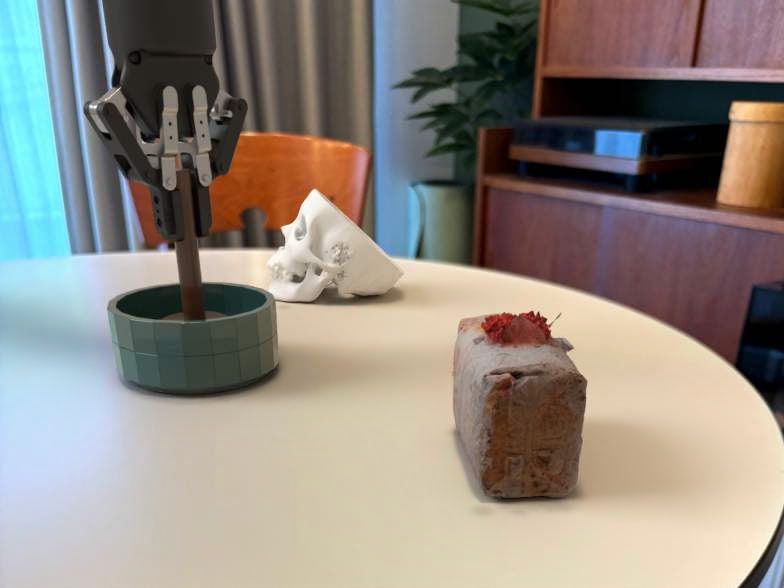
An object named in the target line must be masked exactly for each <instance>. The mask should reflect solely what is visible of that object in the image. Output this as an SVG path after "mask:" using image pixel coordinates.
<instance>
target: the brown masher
mask: <svg viewBox="0 0 784 588" xmlns="http://www.w3.org/2000/svg"><path fill="white" fill-rule="evenodd" d="M176 181H177V184H176V187H175V188H174V190H178V191H180V200H181V208H182V217H183V226H184V235H185V238H184V240H183V241H179V242H174V249H175V258H176V266H177V275H178V283H180V291H181V300H182V308H183V312H181V313H176V314H172V315H169V316H166V317H164V318H163V319H162V320H175V321H188V320H207V319H214V318H221V317H228V316H227V315H225V314H222V313H218V312H212V311H205V304H204V295H203V286H202V282H203V278H202V270H201V269H202V268H201V259H200V249H199V240H198V239H199V238H197V230H196V221H195V212H194V202H193V193H192V184H191V174H190V169H187V168H179V167H176Z"/></svg>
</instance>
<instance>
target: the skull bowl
mask: <svg viewBox="0 0 784 588" xmlns="http://www.w3.org/2000/svg"><path fill="white" fill-rule="evenodd" d="M280 229H281V233H282V235H283V236H284V239H285V240H284V241H285V242H284V246H279V247H278V249H277V252H276V253H275V254H273V255H272V256H271V257H270V258H269V259H268V260H267V262H266V267H267V268H269V274H270V277H271V282H270V284H269V286H268V289H267V291H268V292H270V293H272V294H273V296H274V298H275V301H281V302H306V303H307V302H313V301H315V300H317V299H318V297H319V296H320V295H321V294H322V293H323V290H324V289H325V288H329V287H330V286H331V285H333V284H334V285H335V286H336V287H337V293H338V294H339V295H347V294H352V295H357V296H376V295H384V294H386V293H387V292H388V291H389V290H390V289H391V288H392V287H394V286H395V285H396V284H397V283H398V282H399V280H401V278H402V276H403V275H404V274H405V272H404V270H403V269H402V268H401V267H400V266H399V265H398V263H396V262H395V260H393V258H391V256H390V255H389V254H388V253H387V252H386V251H385V250H383V249H382V248H381V247H380V246H379V245H378V244H377V243H376V242H375V241H374V240H373V239H372V238H371V237H370V236H369V235H368V234H367V233H366V232H364V231H363V230H362V229H361V228H360V227H359V226H358V225H357V224H356V223H355V222H354V221H353V220H352V219H350V217H348V216H347V215H346V214H345V213H344V212H343V211H342V210H341V209H339V207H337V205H335V204H334V203H333V202H332V201H331V200H329V199H328V198H327V197H326V196H325V195H324V194H323V193H322V192H320V191H319V190H318V189H317V188H313V189H312V190H311V191H310V193H309V194H308V196H307V197H306V198H305V199H304V201H303V202H302V204H301V206H300V209H299V211H298V214H297V217H296V218H295V220H294V221H293V222H292V223H289V224H286V225H283V226H281V227H280ZM323 272H324V273H326V274H323V275H322V273H323Z"/></svg>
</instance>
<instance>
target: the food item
mask: <svg viewBox="0 0 784 588" xmlns="http://www.w3.org/2000/svg"><path fill="white" fill-rule="evenodd" d="M561 316H562V311H561V312H559V314H558V315H556V317H555V319H554V320H553V321H552V322H551V323H549V324H548V323H547V322H548V318H547V317H545V316H544V315H542V316H541V313H540V310H538V311H537V312H536V314H535V310H529V312H521V313H518V314H515V313H514V314H512V312H506V311H503V312H502V313H500V312H498V313H497V312H496V313H490V314H482V315H477V316H472V317H464V318H462V319H461V318H460V321H459V324H458V327H457V334H456V340H455V344H454V350H453V357H452V380H453V381H452V383H453V384H452V411H453V418H454V419H453V420H454V424H455V427H456V430H457V432H458V434H459V437H460V439H461V441H462V445H463V448H464V452H465V455H466V457H467V460H468V462H469V464H470V466H471V468H472V471H473V473H474V475H475V478H476V481H477V483H478V484H479V487H480V488H481V490H482V491H483V495H484V497H485V496H486V497H493V498H497V499H499V500H502V499H503V498H506V499H515V498H523V497H524V498H530V497H541V496H542V497H548V498H562V497H566V496H568V495H570V494H571V493H572V491H573V489H574V487H575V486H576V485H577V481H578V478H579V471H580V469H579V465H580V464H579V463H580V456H581V454H582V449H583V434H582V433H583V428H584V421H585V413H586V406H587V388H588V382H589V381H588V379H587V378H586V377H585V376H584V375H583V374H582V373H580V371H579V370H578V368H577V366H576V364H575V362H574V361H573V360H572V359H571V357H570V356H569V355H568V354H567V353H568V352H571V351H572V350H574V349H575V347H574V345H573V344H572V343H571V342H570V341H569V340H568V339H567V338H565V337H553V336H552V335H551V334H552V329H551V327H552V326H553V324H554V323H555V321H557V320H558V319H559V318H560V317H561Z"/></svg>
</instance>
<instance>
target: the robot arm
mask: <svg viewBox="0 0 784 588" xmlns="http://www.w3.org/2000/svg"><path fill="white" fill-rule="evenodd" d="M213 1H214V0H101V4H102V13H103V19H104V25H105V26H104V27H105V34H106V39H107V46H108V48H109V50H110V51H111V54H112V58H113V64H114V65H113V72H112V74H111V79H110V85H111V89H109V90H108V91H107V92H105V94H103V95H102V96H101V97H99V99H97V100H88V101H86V102H84V103H83V106H82V110H83V114H84V116H85V118H86V119H87V121H88V122H89V124H90V126H91V127H92V129H93V130H94V132H95V133H96V135H97V136H98V138H99V140H100V141H101V143H102V145H103V146H104V148H105V149H106V151H107V152H108V154H109V156H110V157H111V159H112V161H113V162H114V163H115V166H116V167H117V169H118V170H119V171H120V173H121V174H122V176H123V177H124V179H125V180H126V181H130V182H135V183H139V184H142V185H144V186H145V187H147V189H148V191H149V193H150V194H149V195H150V201H151V209H152V217H153V224H154V228H155V230H156V232H157V234H160V237H161V238H162V240H163V241H167V242H172V243H175V242H179V241H183V240H184V238H185V235H184V226H183V217H182V208H181V200H180V191H178V190H174V188H175V187H176V184H177V181H176V168H177V167H176V165H178V168H187V169H190V174H191V184H192V193H193V202H194V212H195V221H196V230H197V239H201V238H202V239H203V238H207V237H209V235H210V229H212V226H213V215H212V204H211V196H210V195H211V194H210V186H211V184H212V181H213V180H215V179H216V178H218V177H220V176H226V175H227V174H228V173H229V171H230V168H231V164H232V161H233V158H234V156H235V153H236V148H237V145H238V142H239V139H240V136H241V133H242V130H243V127H244V123H245V119H246V116H247V114H248V110H249V105H248V102H247V100H246V99H245V98H243V97H233V96H232V95H231V94H229V93H228V92H226V91H225V90H224V89H223V88H221V83H220V78H219V76H218V73H217V72H216V70H215V68H214V67H215V66H214V63H213V58H214V54H215V52H216V50H217V35H216V34H217V33H216V24H215V12H214V3H213ZM130 117H131V120H132V121H133V122H134V123H135V133H136V137H135V135H134V134H133V132H132V130H131V129H130V127H129V126H128V123H129V122H130ZM209 117H210V121H208V120H209ZM157 140H159V141H157ZM176 159H177V164H176Z"/></svg>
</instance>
